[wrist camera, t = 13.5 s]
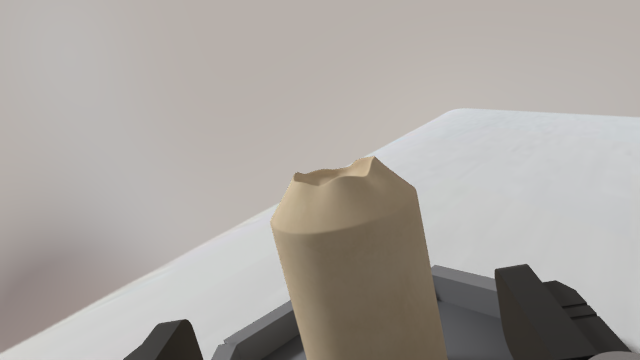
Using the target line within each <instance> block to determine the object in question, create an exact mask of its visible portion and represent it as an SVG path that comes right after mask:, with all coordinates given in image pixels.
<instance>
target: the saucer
mask: <svg viewBox="0 0 640 360" xmlns="http://www.w3.org/2000/svg"><path fill="white" fill-rule="evenodd" d="M431 272H432V277H433V283H434V288H435V293H436V299H437V304H438V310H439V315H440V320H441V326H442V331H443V336H444V342H445V347H446V353H447V358H448V360H514V359H513V357H512V355H511V353H510V351H509V349H508V346H507V343H506V340H505V336H504V332H503V328H502V322H501V315H500V309H499V302H498V295H497V289H496V282H495V279H493V278H489V277H484V276H480V275H476V274H472V273H467V272H463V271H459V270H455V269H450V268H446V267H442V266H437V265H434V266H433V267H432V268H431ZM224 343H225V344H222V345H218V347H217V349H216V351H215V353H214V355H213V357H212V359H211V360H307V358H306V354H305V351H304V347H303V343H302V339H301V336H300V332H299V328H298V325H297V321H296V317H295V313H294V310H293V306H292V302H291V300H290V301H288V302H287V303H285V304H283V305H282V306H280V307H278V308H277V309H275V310H273V311H272V312H270V313H268V314H267V315H265V316H263V317H262V318H260V319H258V320H257V321H255V322H253V323H252V324H250V325H248V326H247V327H245V328H243V329H242V330H240V331H238V332H237V333H235V334H233V335H232V336H230V337H228V338H227V339H225V340H224Z"/></svg>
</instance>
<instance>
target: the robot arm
mask: <svg viewBox="0 0 640 360" xmlns="http://www.w3.org/2000/svg"><path fill="white" fill-rule="evenodd" d="M495 282H496V289H497V295H498V302H499V309H500V315H501V322H502V328H503V332H504V336H505V340H506V343H507V346H508V349H509V351H510V353H511V355H512V357H513V359H514V360H640V354H638V353H632V352H631V351H630V350H629V349H628V347H627V346H626V345H625V344H624V343H623V342H622V341H621V340H620V339H619V338H618V336H617V335H616V334H615V333H614V332H613V331H612V330H611V329H610V328H609V327H608V326H607V324H606V323H605V322H604V321H603V320H602V319H601V318H600V317H599V316H597V313H596V312H595V311H594V310H593V309H592V308H591V307H590V306H589V305H587V302H586V301H585V300H584V299H583V298H582V297H581V296H580V295H579V294H578V293H577V291H576V290H574V289H572V288H570V287H568V286H566V285H564V284H562V283H560V282H558V281H556V280H555V281H549V282H543V283H542V282H541V280H540V279H539V278H538V277H537V275H536V274H535V273H534V272H533V270H532V269H531V268H530V267H529V265H527V264H523V265H517V266H511V267H505V268H499V269H495ZM123 360H203V357H202V354H201V351H200V348H199V345H198V342H197V339H196V336H195V333H194V330H193V327H192V325H191V323H190V322H189V321H188V320H186V319H184V320H177V321H171V322H165V323H160V324H158V325H157V326H156V327H155V328H154V329H153V331H152V332H151V333H150V334H149V336H148V337H147V338H146V340H145V341H144V342H143V344H142V345H140V346H139V347H138V348H137V349H135V350H134V351H133V352H132V353H130V354H129V355H128V356H127V357H125V358H124V359H123Z"/></svg>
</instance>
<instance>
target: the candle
mask: <svg viewBox="0 0 640 360" xmlns="http://www.w3.org/2000/svg"><path fill="white" fill-rule="evenodd" d="M270 223H271V228H272V232H273V236H274V239H275V243H276V247H277V250H278V254H279V258H280V262H281V265H282V269H283V273H284V276H285V280H286V284H287V288H288V291H289V295H290V299H291V302H292V306H293V310H294V313H295V317H296V321H297V325H298V328H299V332H300V336H301V339H302V343H303V347H304V351H305V354H306V358H307V360H448V358H447V353H446V347H445V342H444V336H443V331H442V326H441V320H440V315H439V310H438V304H437V299H436V293H435V288H434V283H433V277H432V272H431V266H430V261H429V256H428V250H427V245H426V240H425V234H424V229H423V223H422V218H421V213H420V207H419V202H418V197H417V192H416V189H415V188H414V187H413V186H412V185H410V184H409V183H408V182H406V181H405V180H403V179H402V178H401V177H399V176H398V175H397V174H395V173H394V172H393V171H391V170H390V169H389V168H388V167H386V166H385V165H384V164H383V163H381V162H380V161H379V160H378V159H377V158H376V157H375V156H372V157H366V158H361V159H358V160H356V161H355V162H354V163H353V164H352V165H351V166H349V167H346V168H340V169H333V170H331V169H321V170H317V171H313V172H310V173H308V174H302V173H299V172H297V173H295V174H294V176H293V178H292V181H291V183H290V185H289V187H288V189H287V191H286V193H285V195H284V196H283V198H282V200H281V202H280V204H279V205H278V207H277V209H276V211H275V213H274V214H273V216H272V218H271V221H270Z"/></svg>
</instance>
